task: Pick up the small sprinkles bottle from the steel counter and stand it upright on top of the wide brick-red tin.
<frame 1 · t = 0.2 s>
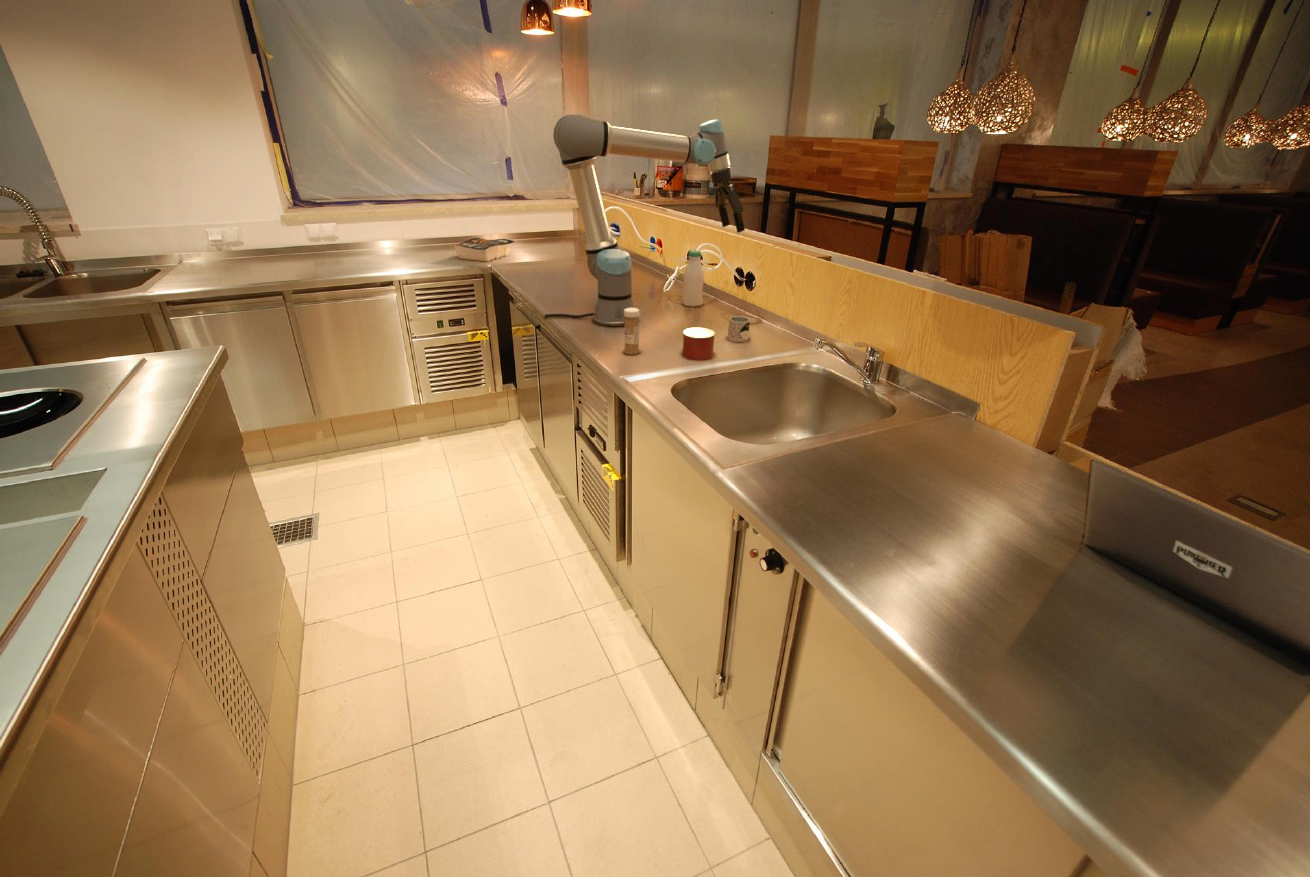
hand: (733, 228, 213), 28 cm above the worktop, tool tilted 20°, fingers open, 13 cm apart
food packaging: (484, 257, 296), on the worktop
tin: (697, 354, 174), on the worktop
sprinkles bottle: (631, 353, 175), on the worktop
milk bottle: (692, 304, 224), on the worktop
mug: (739, 338, 189), on the worktop
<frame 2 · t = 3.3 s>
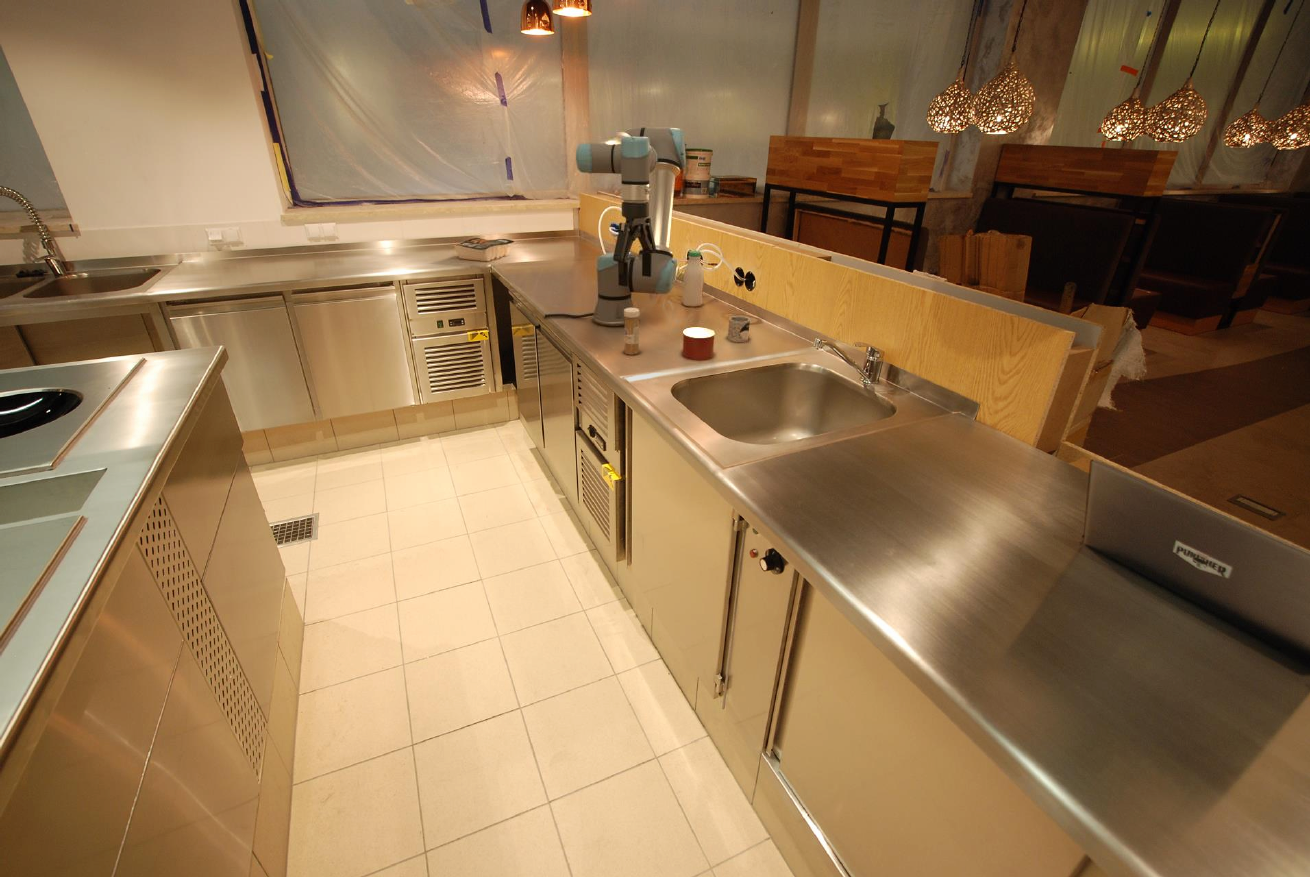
hand: (635, 280, 164), 22 cm above the worktop, tool pointing down, fingers open, 13 cm apart
nothing on the worktop moved.
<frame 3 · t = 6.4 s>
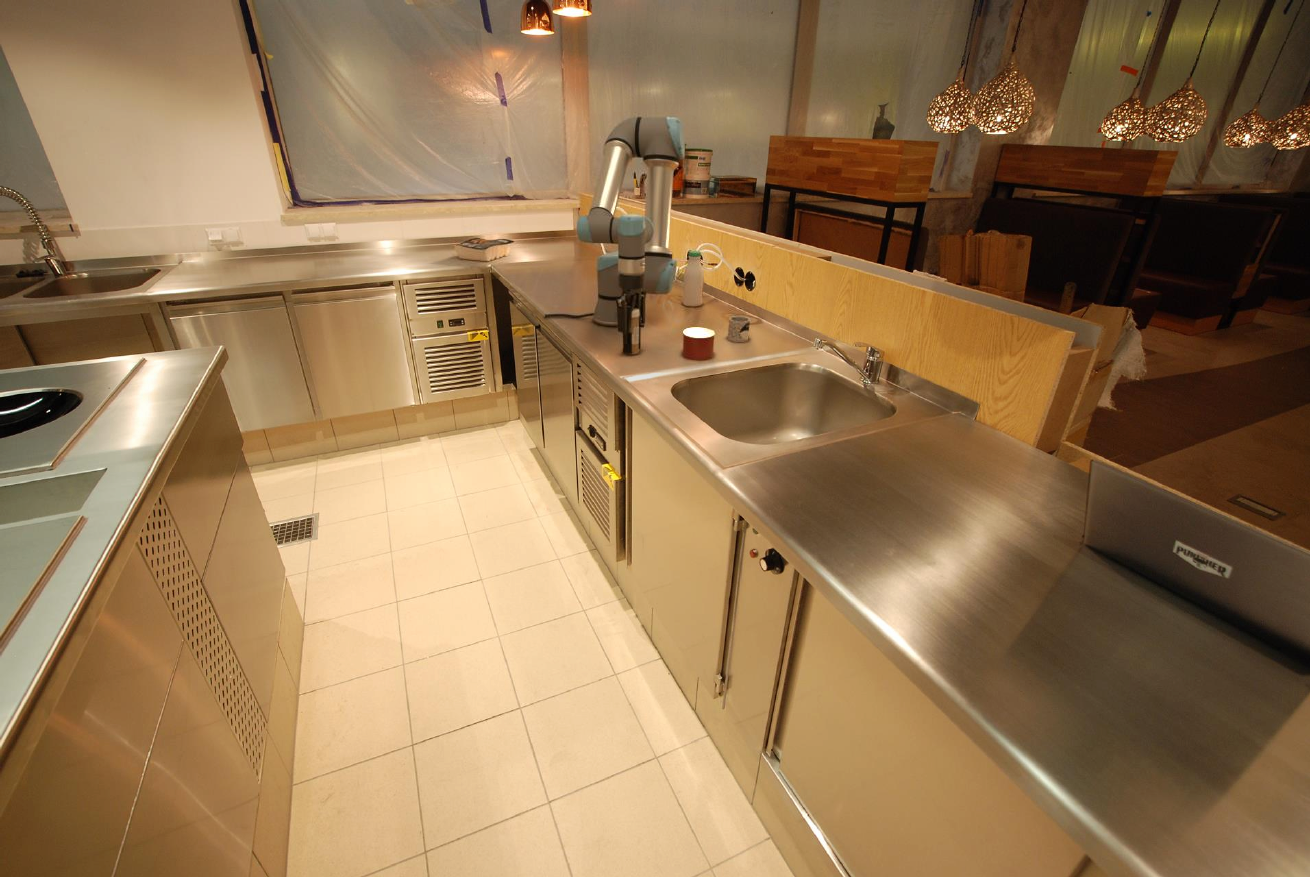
hand: (631, 350, 174), 1 cm above the worktop, tool pointing down, fingers closed on sprinkles bottle, 4 cm apart
sprinkles bottle: (631, 353, 175), on the worktop, touching gripper
everything else where it was.
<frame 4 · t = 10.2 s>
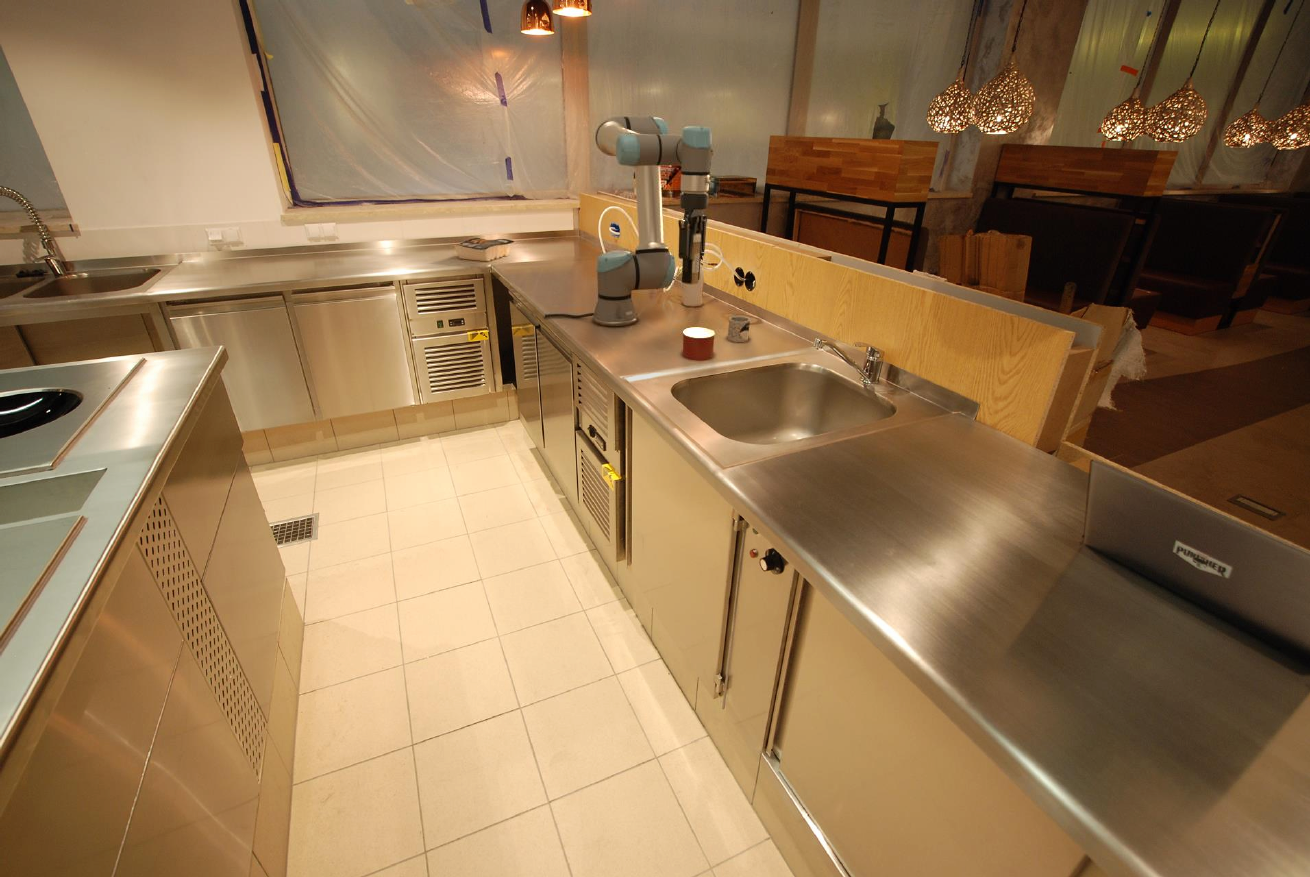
hand: (690, 280, 163), 22 cm above the worktop, tool pointing down, fingers closed on sprinkles bottle, 4 cm apart
sprinkles bottle: (690, 283, 164), point 21 cm above the worktop, touching gripper
everything else where it was.
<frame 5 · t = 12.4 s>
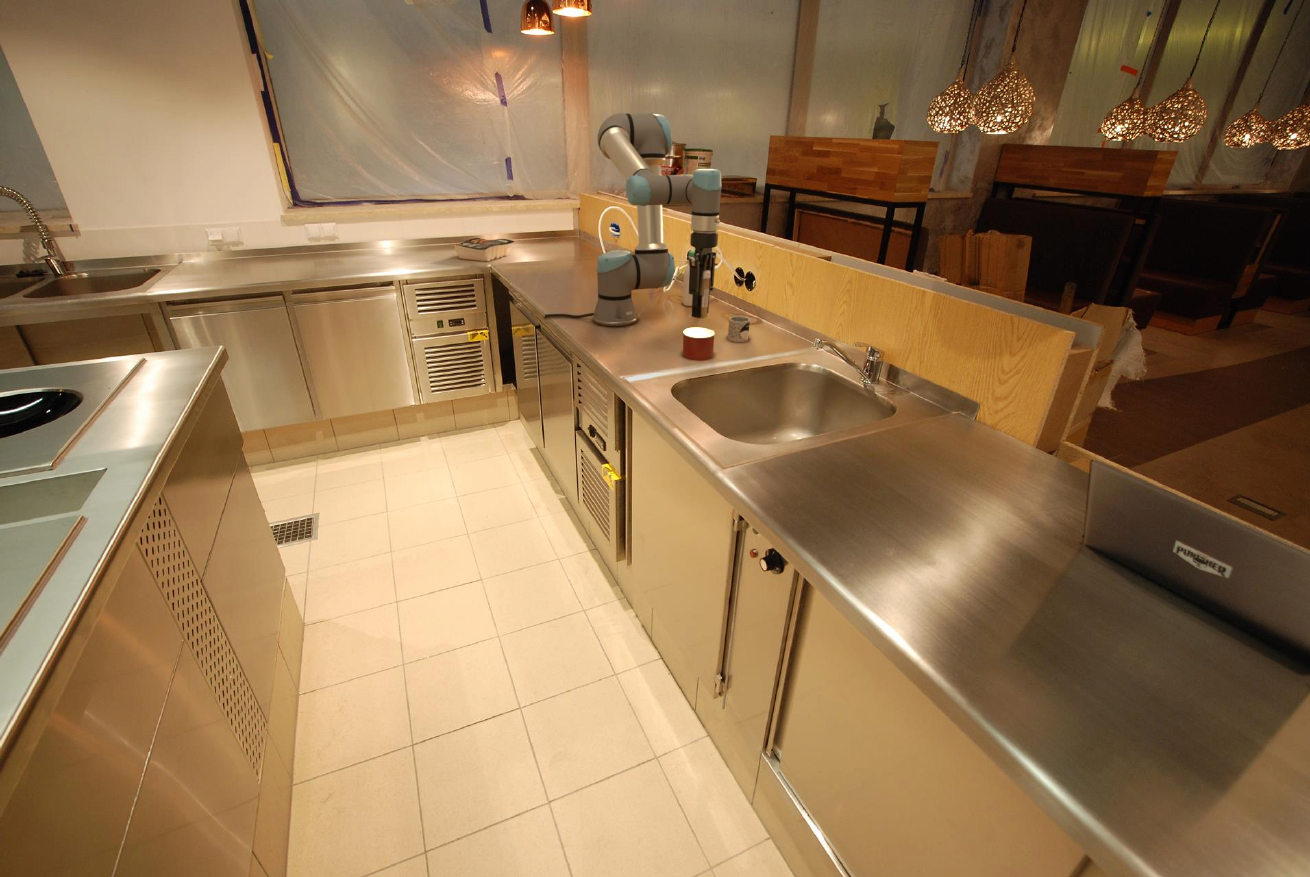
hand: (700, 314, 168), 12 cm above the worktop, tool pointing down, fingers closed on sprinkles bottle, 4 cm apart
sprinkles bottle: (699, 317, 168), point 12 cm above the worktop, touching gripper
everything else where it was.
when the fingers open (8 cm above the worktop, at t = 13.9 s): sprinkles bottle stays where it is, resting on tin.
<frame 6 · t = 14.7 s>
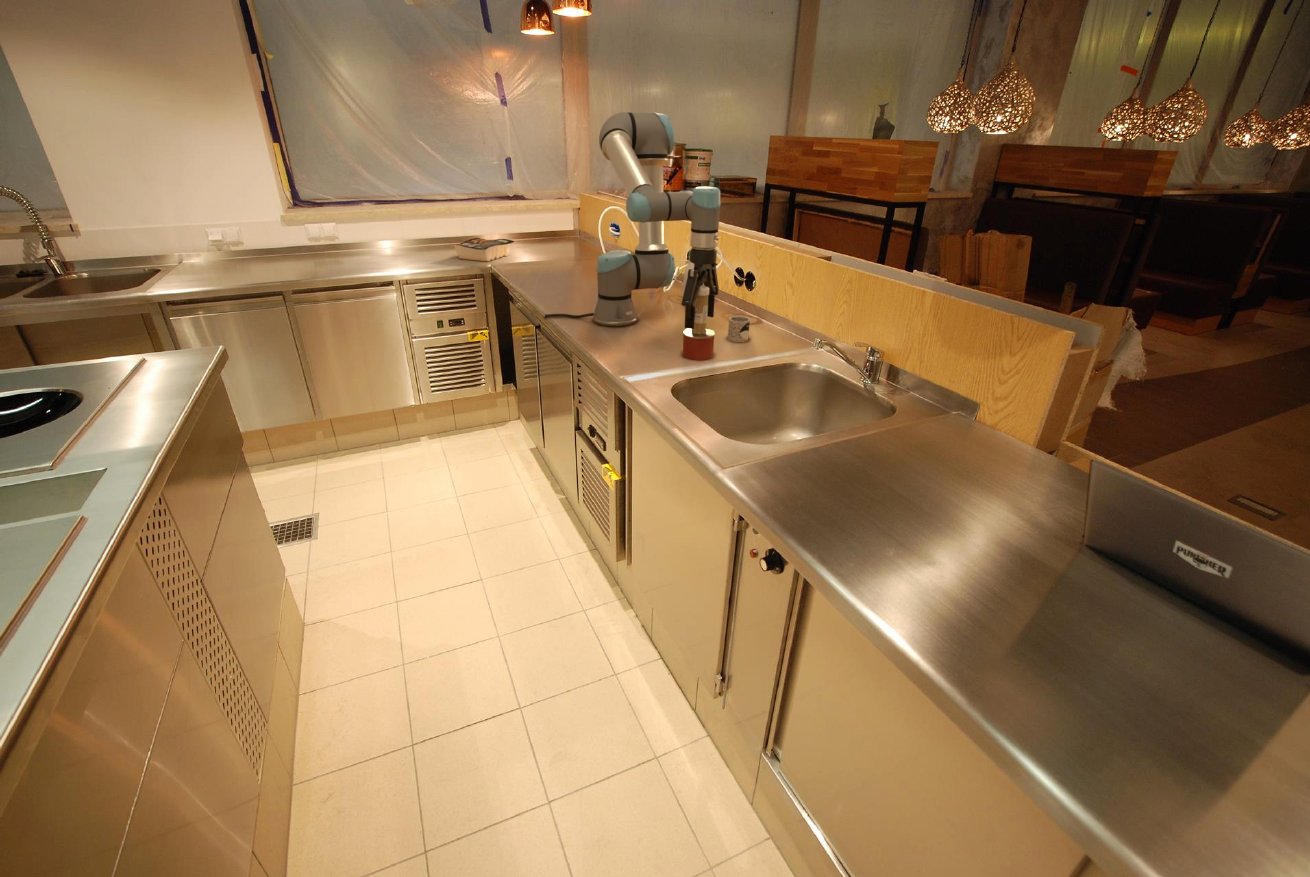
hand: (699, 322, 169), 10 cm above the worktop, tool pointing down, fingers open, 13 cm apart
tin: (697, 354, 174), on the worktop, touching sprinkles bottle
sprinkles bottle: (699, 333, 171), point 7 cm above the worktop, touching tin
everything else where it was.
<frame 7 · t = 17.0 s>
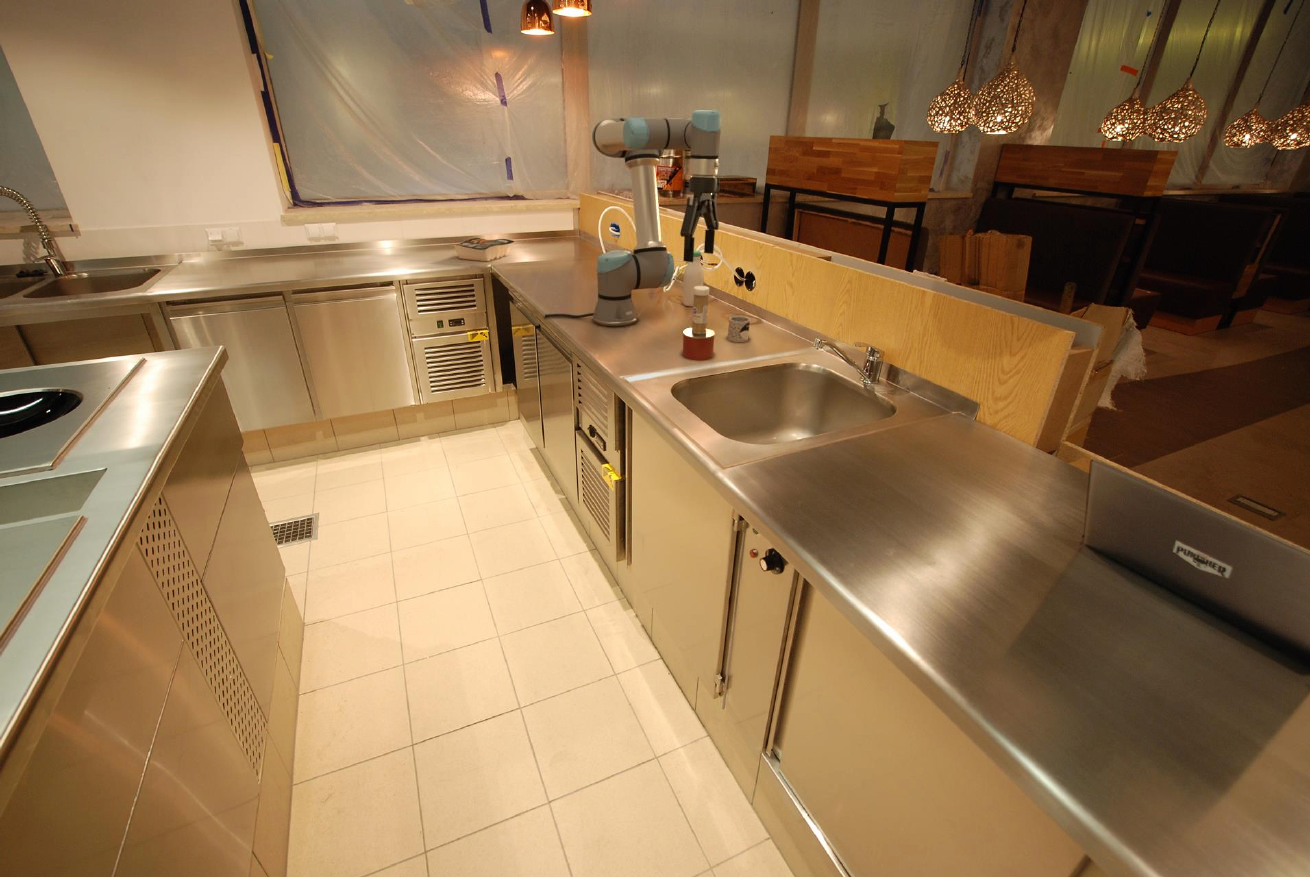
hand: (698, 257, 164), 28 cm above the worktop, tool pointing down, fingers open, 13 cm apart
nothing on the worktop moved.
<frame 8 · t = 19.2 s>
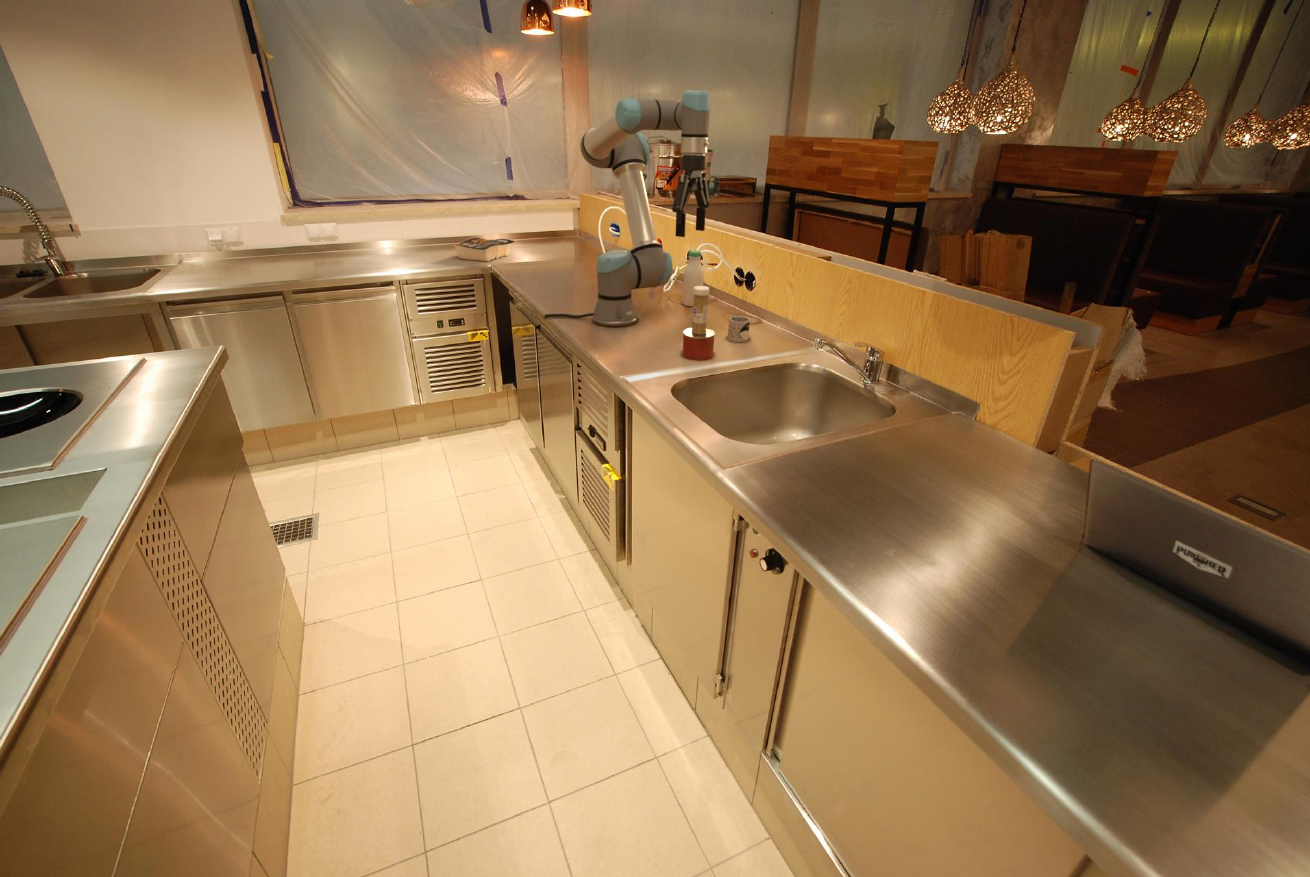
hand: (690, 233, 172), 33 cm above the worktop, tool pointing down, fingers open, 13 cm apart
nothing on the worktop moved.
at the end: sprinkles bottle 0.0 cm off-centre on the tin, point 6.8 cm above the tin's base; sprinkles bottle tilted 0°; the gripper is holding nothing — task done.
